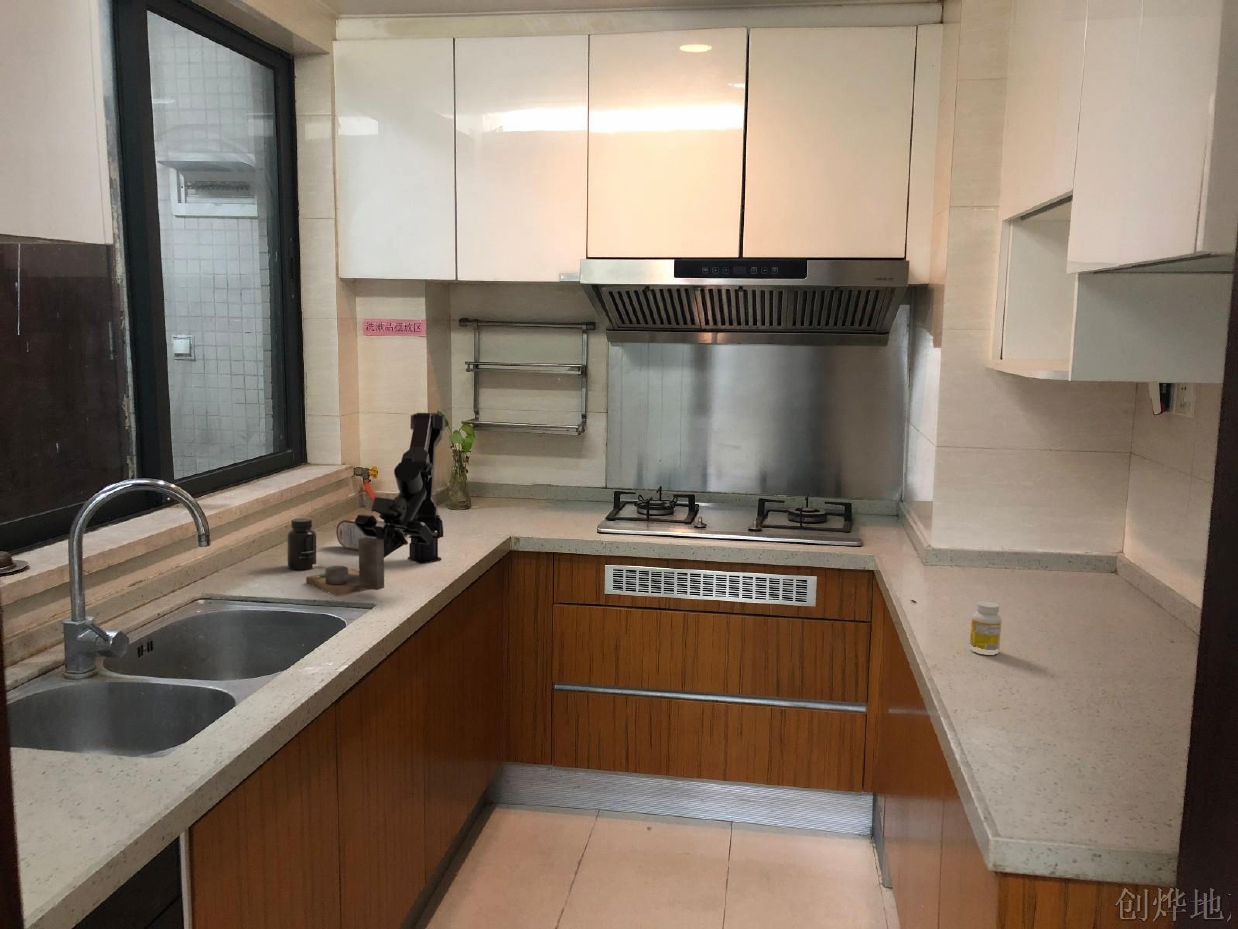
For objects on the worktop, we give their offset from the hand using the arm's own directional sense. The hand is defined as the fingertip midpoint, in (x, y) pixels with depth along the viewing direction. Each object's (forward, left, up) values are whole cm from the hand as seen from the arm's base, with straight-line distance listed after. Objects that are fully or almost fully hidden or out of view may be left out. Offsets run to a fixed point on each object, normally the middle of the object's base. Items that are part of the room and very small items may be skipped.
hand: (376, 560), depth 210 cm
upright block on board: (+4, -6, -6) cm, 10 cm away
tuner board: (+2, -11, -8) cm, 14 cm away
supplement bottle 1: (+2, -32, -8) cm, 33 cm away
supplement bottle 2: (-68, +110, -8) cm, 130 cm away
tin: (-18, -39, -8) cm, 44 cm away
